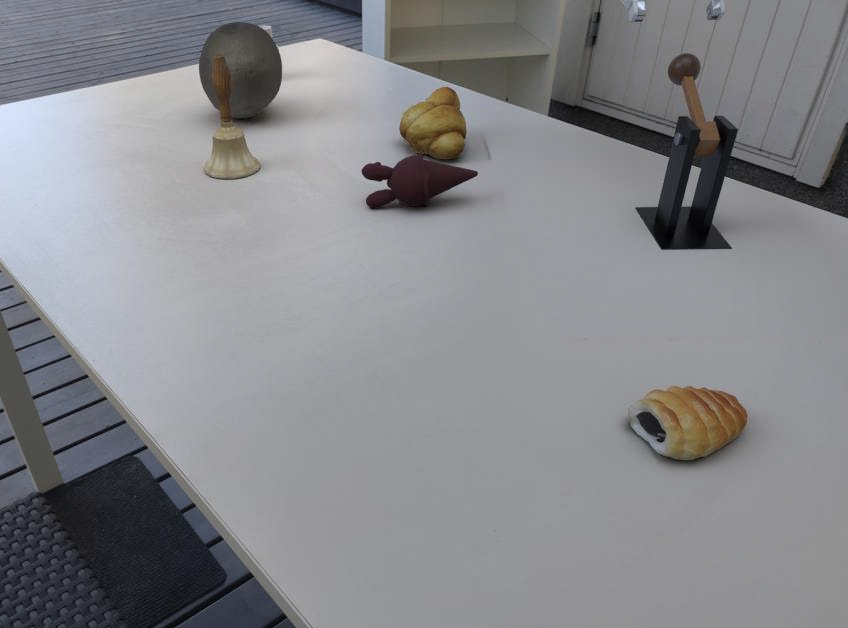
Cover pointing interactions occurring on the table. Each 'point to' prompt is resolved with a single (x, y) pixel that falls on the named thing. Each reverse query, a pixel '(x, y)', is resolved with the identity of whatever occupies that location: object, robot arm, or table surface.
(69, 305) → the table surface
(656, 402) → the pastry
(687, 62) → the lever
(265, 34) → the grey round ball
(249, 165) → the hand bell
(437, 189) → the icecream
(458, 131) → the bread roll
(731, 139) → the bracket
